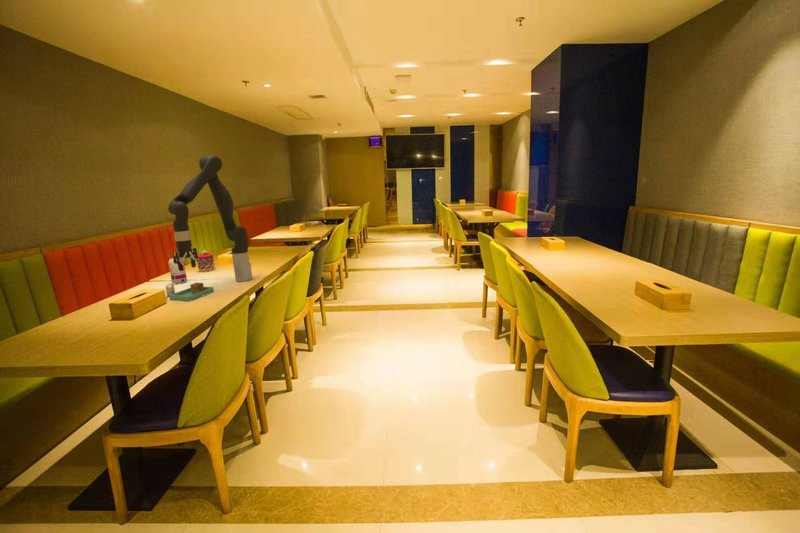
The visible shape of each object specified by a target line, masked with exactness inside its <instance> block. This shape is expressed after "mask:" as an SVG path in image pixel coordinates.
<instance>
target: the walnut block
mask: <svg viewBox="0 0 800 533" xmlns="http://www.w3.org/2000/svg"><path fill="white" fill-rule="evenodd" d="M189 286H190V288H191V292H192V294H196V293H199V292H201V291H204V287H205V286H204V282H195V283H192V284H191V283H190V285H189Z"/></svg>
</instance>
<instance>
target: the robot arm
mask: <svg viewBox="0 0 800 533" xmlns="http://www.w3.org/2000/svg"><path fill="white" fill-rule="evenodd" d="M198 164H199V168H200V170H201V171H200V172H199V173H198V174H197V175H196V176H194V177H193V178H192V179H191V180H190V181H189V182H188V183H187V184H186V185H185V186H184V188H183V189H182V190H181V191H180V193H179V194H178V195H177V196H175V198H173V199H172V200H171V201H170V203H169V204H168V207H167V209H168V212H169V214H170V215H173V216H175V220H174V221H173V222H172V228H173V232H174V234H173V236H174V242H175V248H176V250H177V251H173V252H172V258H173V260H174V263H175V264H178V269H179V271H183V264H182V262H183V260H184V261H185V259H189V260H190V265H191V268H196V266H197V264H196V261H197V259H198V255H199V254H198V251H197V248H195V247H193V244H192V238H191V232H190V227H189V223H188V222H189V213H190V212H189V207H188V204H189V203H192V202H193V201H194V200H195V199H196V197H197V196H198V194H199V193H200V192H201V190H202V189H204V187H205V186H206V185H208V186H209V190H210V192H211V194H212V196H213V197H212V198H213V200H214V203H215V206H216V208H217V210H218V213H219V216H220V218H221V221H222V224H223V227H224V231H225V235H226V237H227V239H228V240H230V241H232V242H234V247H232V248H230V251H231V256H232V263H233V264H232V266H233V270H234V278H235V281H236V282H246V281H251V280H252V279H253V272H252V264H251V263H250V256H249V236H248V235H249V234H248V231H247V228H245V226H242V225H241V226H239V225H237V224H236V221H235V219H234V207H235V206H234V201H233V197H232V196H231V194H230V190H228V189H227V187H226V186H225V185H224V184H223V182H222V181H221V179H220V178H219V175H218V173H219V171H221V169H222V167H223V161H222V159H221V158H220V157H219V156H217V155H213V154H212V155H203V156H201V157H200V158H199V162H198ZM176 260H177V261H176ZM180 260H181V261H180Z"/></svg>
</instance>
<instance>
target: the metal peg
mask: <svg viewBox="0 0 800 533" xmlns="http://www.w3.org/2000/svg"><path fill="white" fill-rule="evenodd" d="M165 290H166V291H165V292H166V296H167V298H168V297H169V295H171V294H174V293H176V290H175V284H168V285H165Z"/></svg>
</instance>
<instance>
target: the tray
mask: <svg viewBox="0 0 800 533" xmlns="http://www.w3.org/2000/svg"><path fill="white" fill-rule="evenodd" d="M214 292H215V290H214V287H213V286H212V287H211V286H204V291H201V292H199V293H196V294H192V292H191V287H188V288H185V289H183V290H181V291H178V292H175V293H174V294H171V295H169V297H170V298H169V300H170V301H177V300H185V301H184V302H191V301H190V300H192V301H194V300H196V298H197V299H199V298H198V297H200V298H201V296H202V297H204V296H203V295H205V296H207V295H209V293H210V294H211V293H214ZM206 294H207V295H206ZM193 299H194V300H193Z"/></svg>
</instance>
